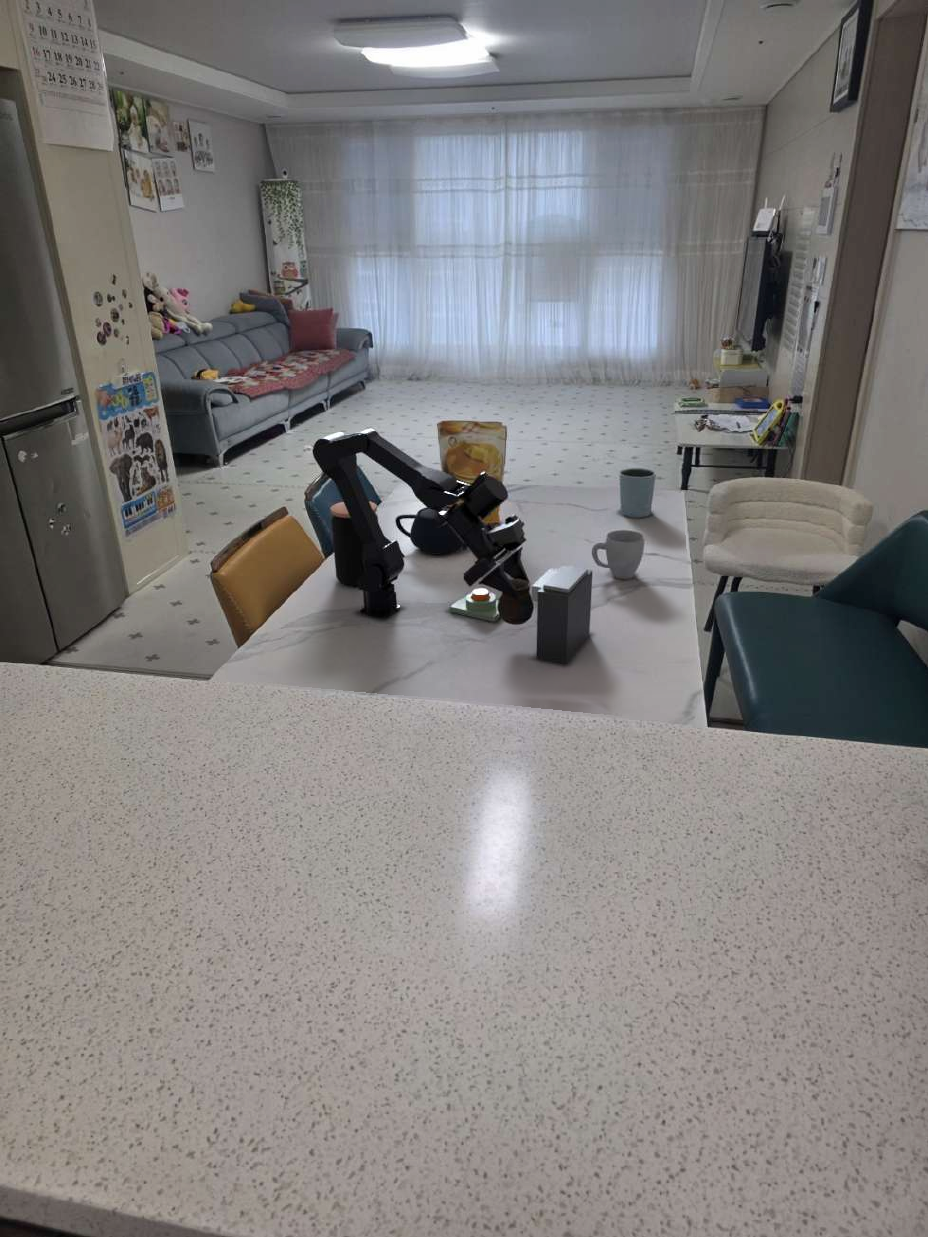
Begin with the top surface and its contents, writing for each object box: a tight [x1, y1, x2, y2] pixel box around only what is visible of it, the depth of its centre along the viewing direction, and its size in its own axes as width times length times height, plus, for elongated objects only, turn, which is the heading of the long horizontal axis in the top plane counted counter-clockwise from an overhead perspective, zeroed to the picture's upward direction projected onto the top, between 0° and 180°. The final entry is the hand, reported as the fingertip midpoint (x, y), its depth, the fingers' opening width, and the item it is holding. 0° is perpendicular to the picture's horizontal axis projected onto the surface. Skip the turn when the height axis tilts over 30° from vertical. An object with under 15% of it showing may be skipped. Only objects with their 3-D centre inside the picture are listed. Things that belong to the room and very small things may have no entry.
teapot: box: [394, 506, 491, 555], centre depth 212 cm, size 25×16×12 cm, turn 81°
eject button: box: [471, 588, 490, 601], centre depth 177 cm, size 4×4×2 cm
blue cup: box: [618, 467, 657, 519], centre depth 235 cm, size 10×10×12 cm
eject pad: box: [449, 592, 501, 623], centre depth 178 cm, size 11×8×3 cm
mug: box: [591, 529, 646, 580], centre depth 193 cm, size 12×9×10 cm
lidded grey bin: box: [531, 565, 593, 665], centre depth 160 cm, size 8×14×15 cm, turn 154°
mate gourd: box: [497, 578, 535, 626], centre depth 163 cm, size 7×8×10 cm
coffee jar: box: [330, 501, 379, 588], centre depth 192 cm, size 11×11×18 cm
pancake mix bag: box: [436, 420, 508, 525], centre depth 229 cm, size 7×19×28 cm, turn 77°
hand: (523, 591), depth 161 cm, fingers closed on mate gourd, 5 cm apart
